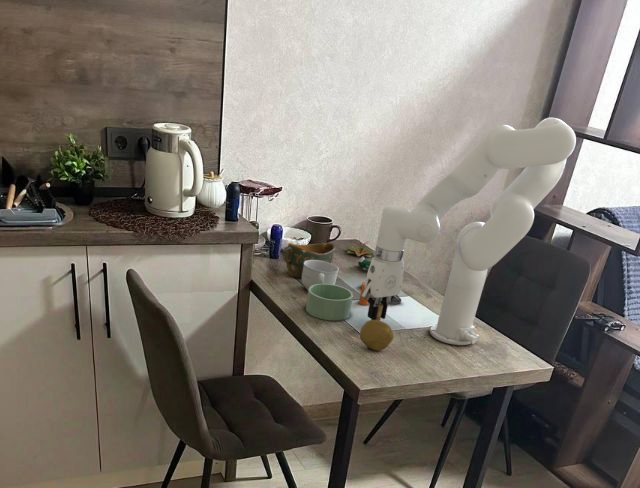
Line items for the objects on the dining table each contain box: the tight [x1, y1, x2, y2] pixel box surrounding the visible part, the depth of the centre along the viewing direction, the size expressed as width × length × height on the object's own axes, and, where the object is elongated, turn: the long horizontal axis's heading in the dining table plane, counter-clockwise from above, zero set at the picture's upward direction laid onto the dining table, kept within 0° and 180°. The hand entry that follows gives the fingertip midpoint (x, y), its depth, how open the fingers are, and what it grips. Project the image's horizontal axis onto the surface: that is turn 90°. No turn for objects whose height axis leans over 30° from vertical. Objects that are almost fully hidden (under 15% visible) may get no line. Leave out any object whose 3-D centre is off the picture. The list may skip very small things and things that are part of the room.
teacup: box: [301, 260, 340, 291], centre depth 219 cm, size 14×11×8 cm
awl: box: [370, 298, 383, 321], centre depth 203 cm, size 3×3×10 cm
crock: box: [305, 284, 354, 322], centre depth 208 cm, size 13×13×6 cm
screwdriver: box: [358, 282, 370, 306], centre depth 215 cm, size 3×3×10 cm
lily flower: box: [346, 239, 374, 259], centre depth 257 cm, size 12×12×5 cm
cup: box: [281, 242, 336, 279], centre depth 232 cm, size 13×20×10 cm, turn 105°
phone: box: [361, 281, 402, 305], centre depth 225 cm, size 8×1×15 cm
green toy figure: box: [357, 256, 372, 271], centre depth 243 cm, size 9×4×6 cm
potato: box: [359, 319, 394, 352], centre depth 189 cm, size 7×8×8 cm
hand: (376, 317), depth 204 cm, fingers closed on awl, 2 cm apart
